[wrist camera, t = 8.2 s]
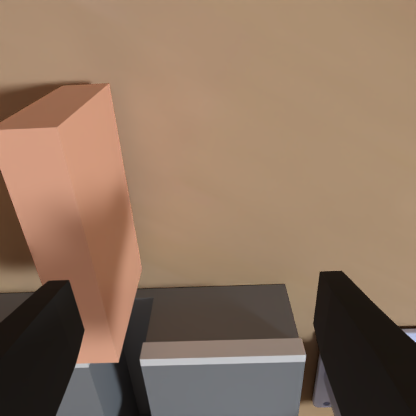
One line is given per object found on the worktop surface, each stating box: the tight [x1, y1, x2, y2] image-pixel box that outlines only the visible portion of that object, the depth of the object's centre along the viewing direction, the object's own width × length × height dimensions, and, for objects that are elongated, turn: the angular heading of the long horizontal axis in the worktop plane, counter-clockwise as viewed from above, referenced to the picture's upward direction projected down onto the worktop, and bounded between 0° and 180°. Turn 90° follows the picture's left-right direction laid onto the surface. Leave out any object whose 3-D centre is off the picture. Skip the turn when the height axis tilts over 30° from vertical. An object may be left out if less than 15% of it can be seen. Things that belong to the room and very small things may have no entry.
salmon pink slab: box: [0, 83, 142, 364], centre depth 15 cm, size 2×10×6 cm, turn 3°
